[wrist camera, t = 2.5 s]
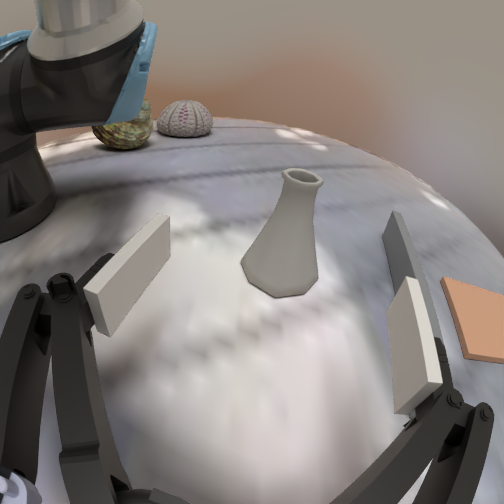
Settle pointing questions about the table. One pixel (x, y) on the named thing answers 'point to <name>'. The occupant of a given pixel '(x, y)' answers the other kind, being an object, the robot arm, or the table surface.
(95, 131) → the seashell
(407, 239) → the low wall
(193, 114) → the sea urchin shell
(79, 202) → the table surface
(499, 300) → the terracotta tile
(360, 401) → the table surface
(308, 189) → the flask
